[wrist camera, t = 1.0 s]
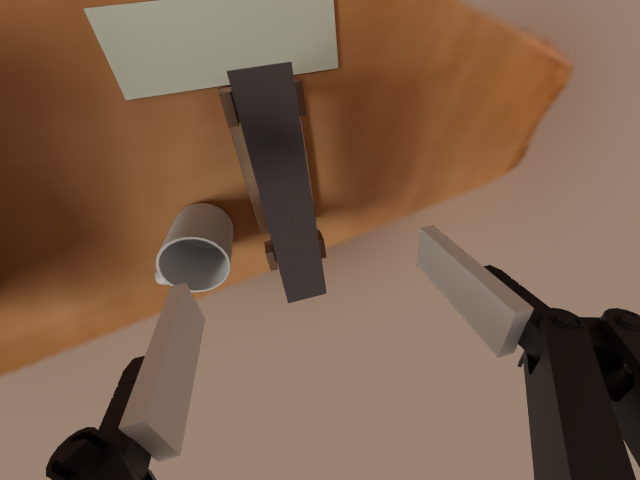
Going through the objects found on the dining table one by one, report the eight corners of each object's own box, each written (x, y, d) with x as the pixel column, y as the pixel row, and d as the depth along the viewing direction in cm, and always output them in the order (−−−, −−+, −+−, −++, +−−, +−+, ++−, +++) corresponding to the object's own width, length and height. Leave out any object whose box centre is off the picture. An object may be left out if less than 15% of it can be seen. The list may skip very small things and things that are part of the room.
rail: (281, 267, 32) (288, 303, 27) (231, 71, 21) (226, 71, 16) (314, 259, 33) (326, 293, 28) (281, 64, 22) (291, 61, 17)
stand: (259, 230, 38) (263, 273, 30) (218, 88, 28) (207, 94, 20) (315, 218, 39) (333, 256, 31) (293, 77, 29) (311, 78, 21)
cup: (245, 229, 37) (244, 268, 30) (189, 268, 38) (175, 314, 31) (206, 190, 33) (194, 223, 26) (145, 234, 34) (117, 278, 27)
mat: (127, 100, 27) (125, 100, 27) (85, 9, 23) (83, 8, 23) (337, 68, 30) (338, 68, 29) (331, -18, 26) (332, -19, 26)
